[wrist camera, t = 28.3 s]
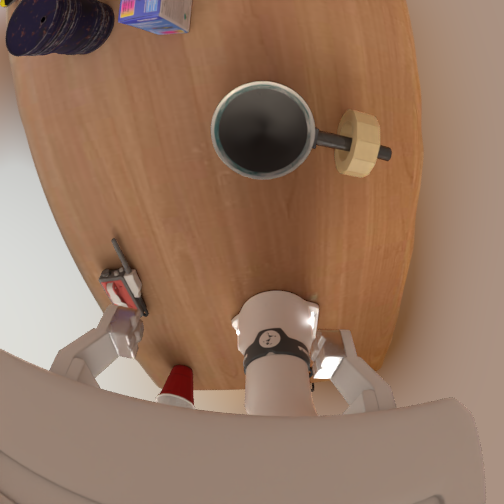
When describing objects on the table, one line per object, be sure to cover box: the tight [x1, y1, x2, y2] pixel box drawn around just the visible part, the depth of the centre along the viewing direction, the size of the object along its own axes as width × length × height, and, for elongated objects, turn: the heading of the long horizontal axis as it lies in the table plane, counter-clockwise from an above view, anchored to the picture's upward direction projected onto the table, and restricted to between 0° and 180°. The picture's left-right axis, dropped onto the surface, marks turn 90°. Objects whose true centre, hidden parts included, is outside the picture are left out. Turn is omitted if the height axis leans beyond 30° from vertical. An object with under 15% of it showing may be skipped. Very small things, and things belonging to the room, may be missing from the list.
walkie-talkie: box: [99, 238, 149, 318], centre depth 52 cm, size 9×4×20 cm
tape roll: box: [334, 109, 380, 178], centre depth 32 cm, size 8×3×8 cm, turn 174°
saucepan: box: [211, 81, 392, 180], centre depth 33 cm, size 22×12×10 cm, turn 83°
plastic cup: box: [156, 365, 195, 409], centre depth 67 cm, size 11×11×12 cm
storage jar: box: [6, 0, 114, 56], centre depth 20 cm, size 10×10×15 cm
